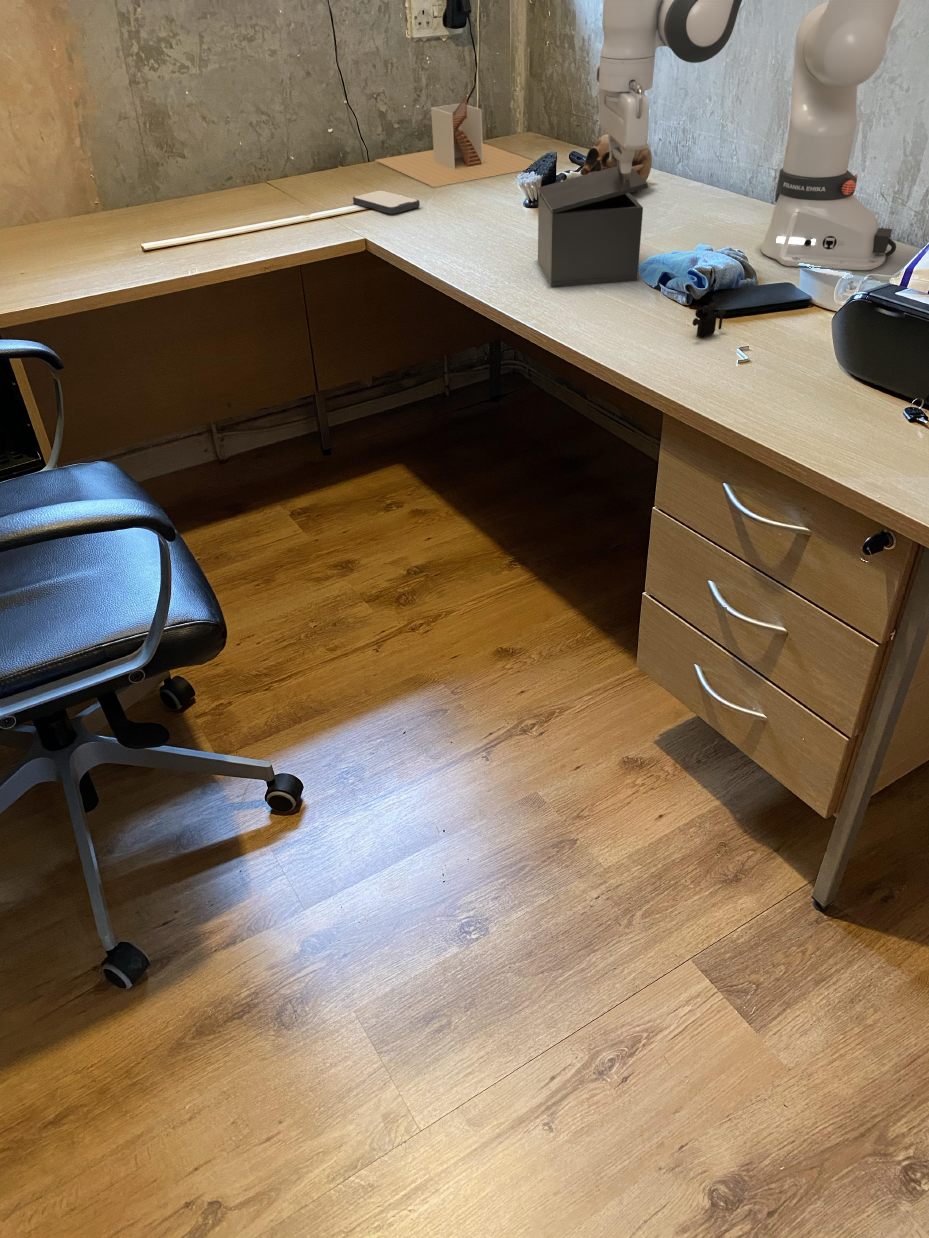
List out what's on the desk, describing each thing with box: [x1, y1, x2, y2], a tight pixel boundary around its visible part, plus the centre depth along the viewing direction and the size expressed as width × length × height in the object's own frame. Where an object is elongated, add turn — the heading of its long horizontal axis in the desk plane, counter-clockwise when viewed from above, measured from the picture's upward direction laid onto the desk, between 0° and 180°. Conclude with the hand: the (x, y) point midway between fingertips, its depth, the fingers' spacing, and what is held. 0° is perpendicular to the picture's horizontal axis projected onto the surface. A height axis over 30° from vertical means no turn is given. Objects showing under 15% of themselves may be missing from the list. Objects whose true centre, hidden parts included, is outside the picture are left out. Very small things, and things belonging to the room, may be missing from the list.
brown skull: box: [579, 133, 653, 194], centre depth 204 cm, size 16×17×13 cm
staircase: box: [430, 92, 485, 170], centre depth 232 cm, size 9×11×17 cm
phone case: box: [352, 190, 421, 215], centre depth 208 cm, size 9×2×16 cm
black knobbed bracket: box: [691, 302, 726, 339], centre depth 141 cm, size 7×2×5 cm, turn 125°
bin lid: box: [537, 147, 649, 213], centre depth 158 cm, size 17×14×5 cm
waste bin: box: [537, 192, 644, 288], centre depth 164 cm, size 16×14×12 cm
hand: (619, 167), depth 158 cm, fingers closed on bin lid, 6 cm apart
